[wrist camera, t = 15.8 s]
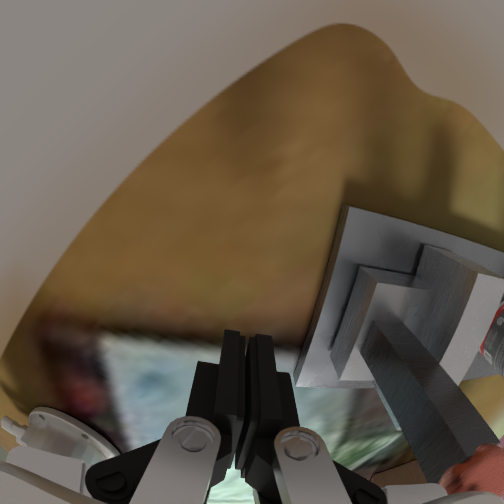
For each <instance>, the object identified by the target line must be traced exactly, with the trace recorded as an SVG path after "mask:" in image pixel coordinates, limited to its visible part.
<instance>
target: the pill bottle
mask: <svg viewBox="0 0 504 504" xmlns="http://www.w3.org/2000/svg"><path fill="white" fill-rule="evenodd" d="M479 351H480V353H481V354H482V355H483V357H484V358H485V359H486V360H487V361H488V362H489V363H490V364H491V365H492V366H493V367H494V368H495V369H496V370H497V371H498V372H499V373H500V374H501V375H502V376H503V377H504V301H502V302H501V303H500V304H499V306H498V309H497V311H496V314H495V316H494V318H493V321H492V323H491V325H490V328H489V330H488V332H487V334H486V336H485V338H484V340H483V342H482V344H481V346H480V348H479Z"/></svg>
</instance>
